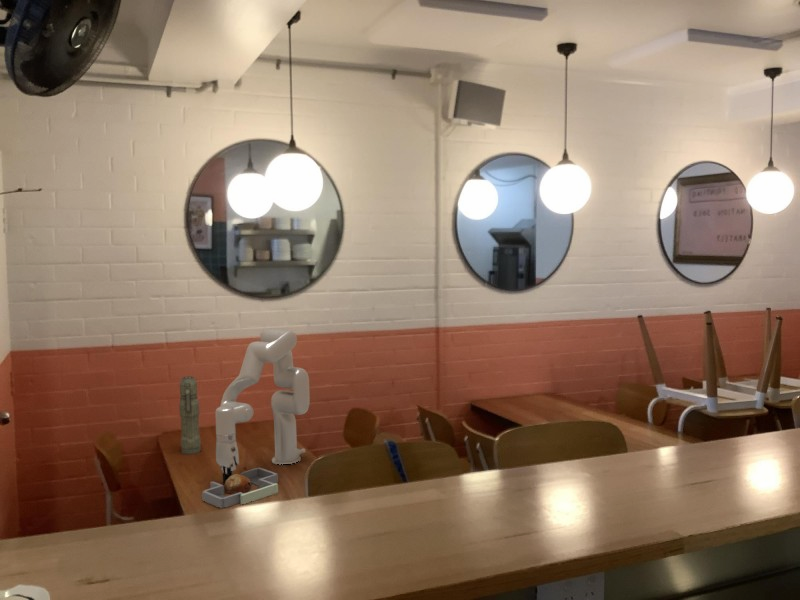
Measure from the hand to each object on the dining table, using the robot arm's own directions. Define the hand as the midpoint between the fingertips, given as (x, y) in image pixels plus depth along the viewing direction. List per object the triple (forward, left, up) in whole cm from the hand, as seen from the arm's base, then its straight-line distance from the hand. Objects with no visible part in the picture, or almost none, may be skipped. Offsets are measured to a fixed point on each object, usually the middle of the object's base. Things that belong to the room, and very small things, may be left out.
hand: (227, 482), depth 290 cm
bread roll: (0, +7, -2) cm, 7 cm away
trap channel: (0, +10, -1) cm, 10 cm away
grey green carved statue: (-15, -52, -2) cm, 54 cm away
